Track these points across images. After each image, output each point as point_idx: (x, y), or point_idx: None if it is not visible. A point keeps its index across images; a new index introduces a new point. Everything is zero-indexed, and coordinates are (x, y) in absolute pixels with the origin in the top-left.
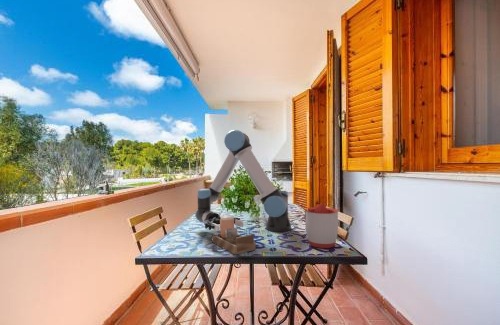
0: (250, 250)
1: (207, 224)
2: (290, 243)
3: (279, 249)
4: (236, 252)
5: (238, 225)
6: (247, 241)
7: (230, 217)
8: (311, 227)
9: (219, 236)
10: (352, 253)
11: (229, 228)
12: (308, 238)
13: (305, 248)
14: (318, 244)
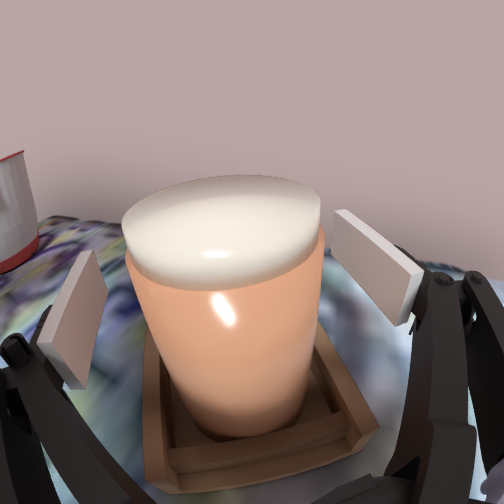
0: None
1: (460, 286)
2: (32, 285)
3: (100, 260)
4: None
5: (96, 331)
6: None
7: (198, 184)
8: (26, 196)
9: (307, 423)
10: (40, 224)
11: None
12: (24, 241)
13: (53, 251)
14: (38, 234)
